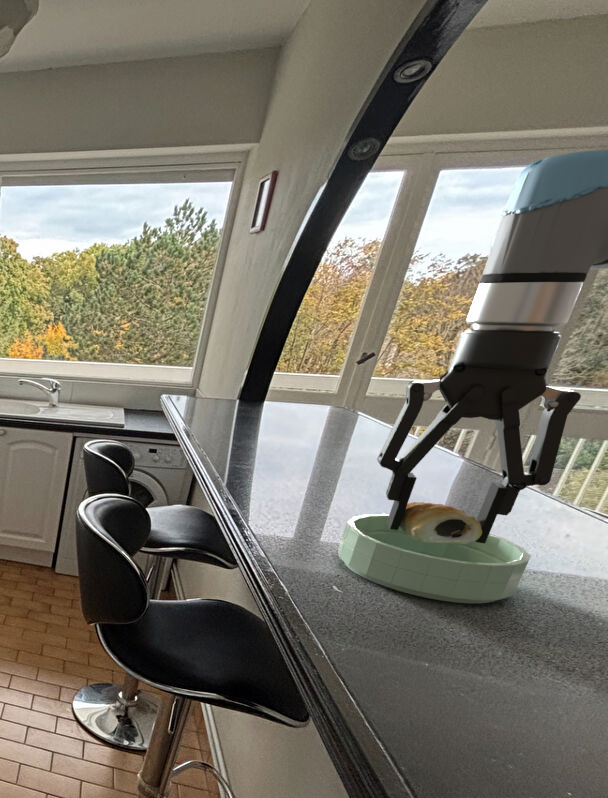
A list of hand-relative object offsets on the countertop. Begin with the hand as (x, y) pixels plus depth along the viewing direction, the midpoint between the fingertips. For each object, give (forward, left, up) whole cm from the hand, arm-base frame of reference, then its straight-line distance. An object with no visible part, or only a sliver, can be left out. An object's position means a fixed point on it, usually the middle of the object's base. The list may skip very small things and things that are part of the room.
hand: (433, 532), depth 70 cm
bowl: (0, 0, -6) cm, 6 cm away
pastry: (0, 0, 0) cm, 1 cm away
